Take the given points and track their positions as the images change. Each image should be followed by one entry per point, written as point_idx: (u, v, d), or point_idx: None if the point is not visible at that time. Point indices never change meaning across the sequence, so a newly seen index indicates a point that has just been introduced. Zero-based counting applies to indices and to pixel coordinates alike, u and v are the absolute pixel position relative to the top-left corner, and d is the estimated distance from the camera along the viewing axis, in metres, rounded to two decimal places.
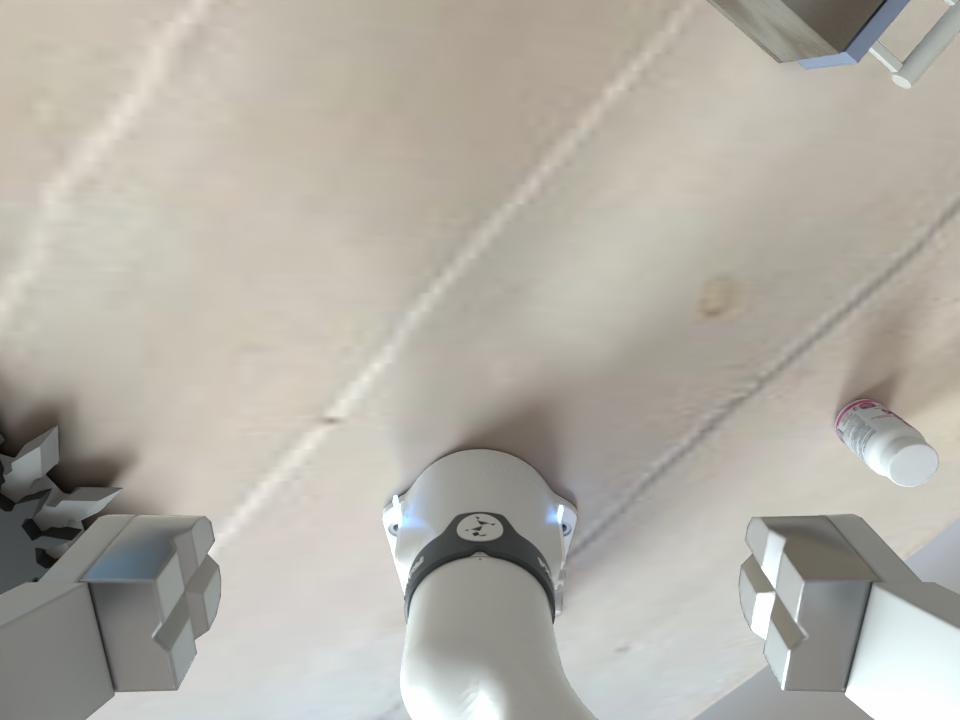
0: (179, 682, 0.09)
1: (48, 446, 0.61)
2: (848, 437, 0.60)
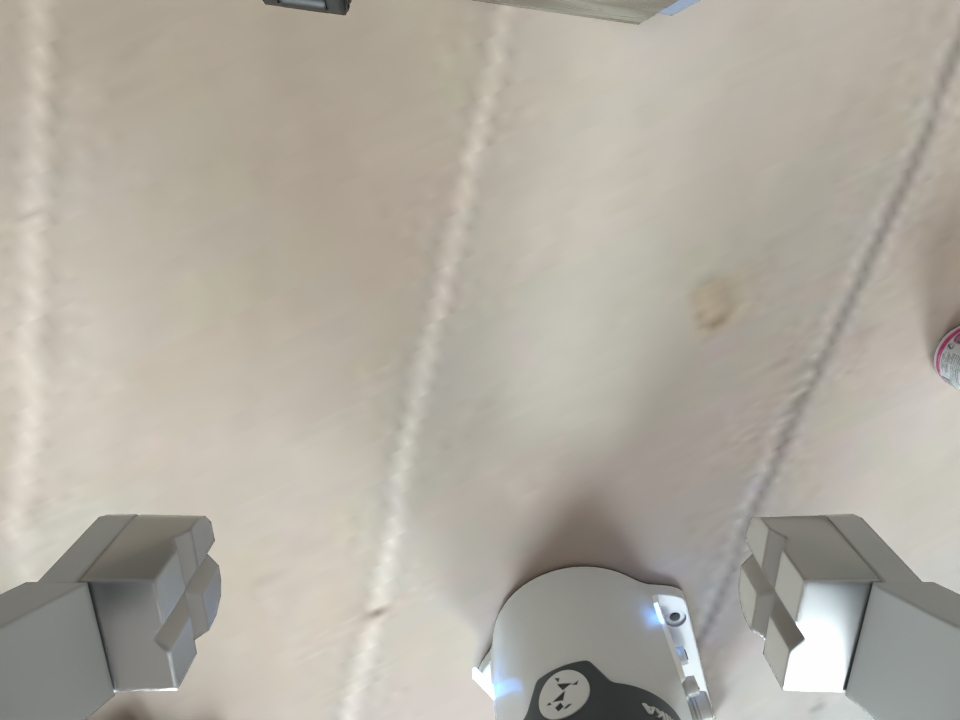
0: (179, 682, 0.09)
1: None
2: (958, 385, 0.46)
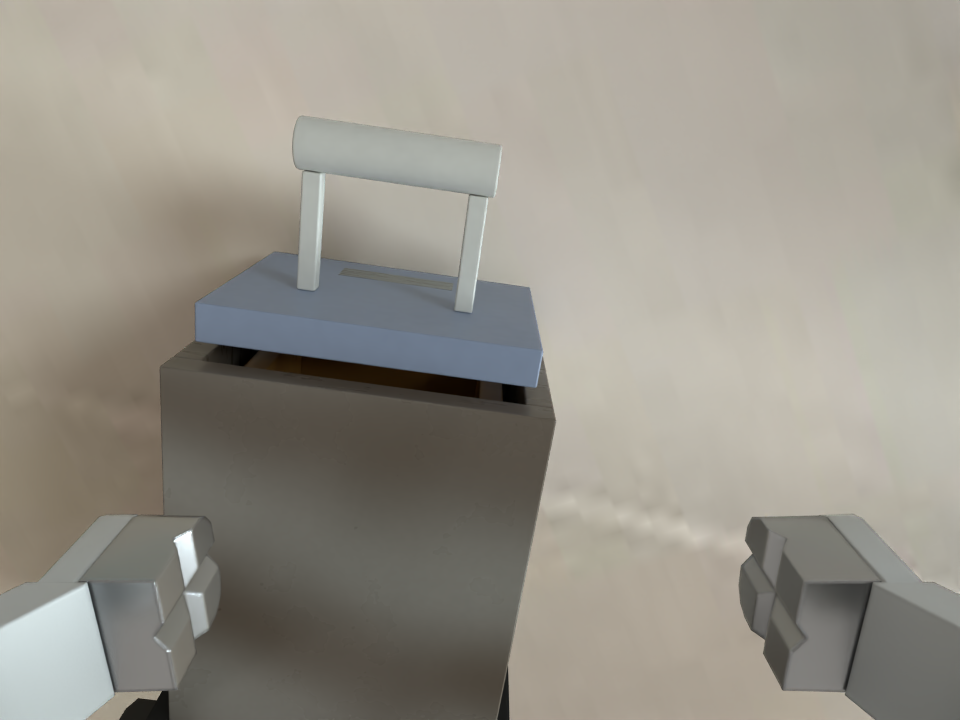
0: (179, 682, 0.09)
1: None
2: None
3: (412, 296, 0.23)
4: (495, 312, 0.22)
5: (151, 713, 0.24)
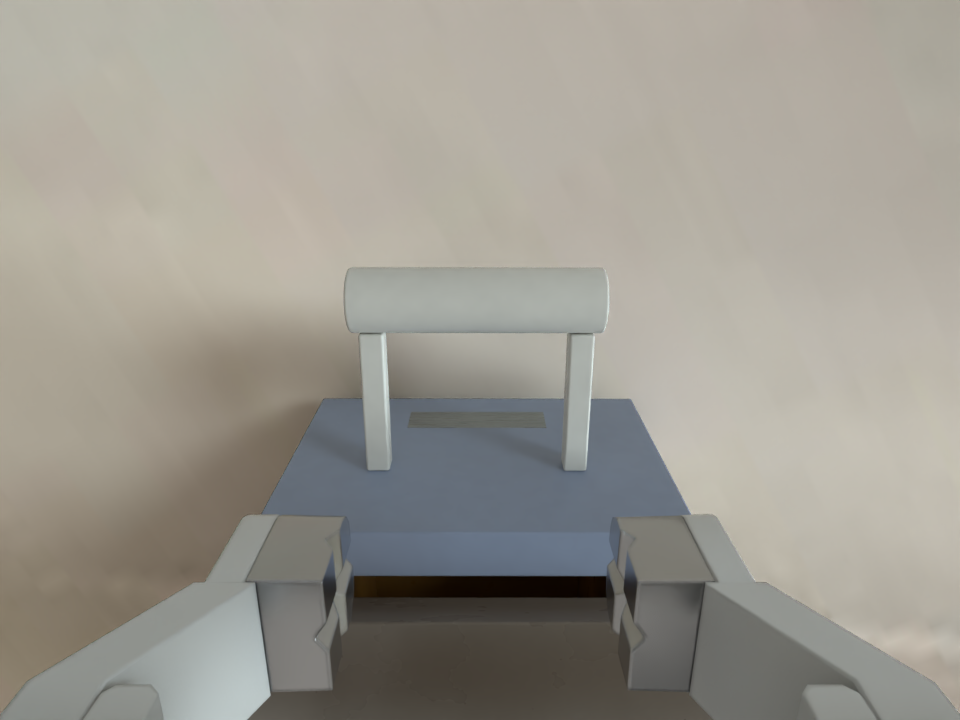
0: (333, 682, 0.09)
1: None
2: None
3: (505, 452, 0.18)
4: (612, 462, 0.18)
5: None
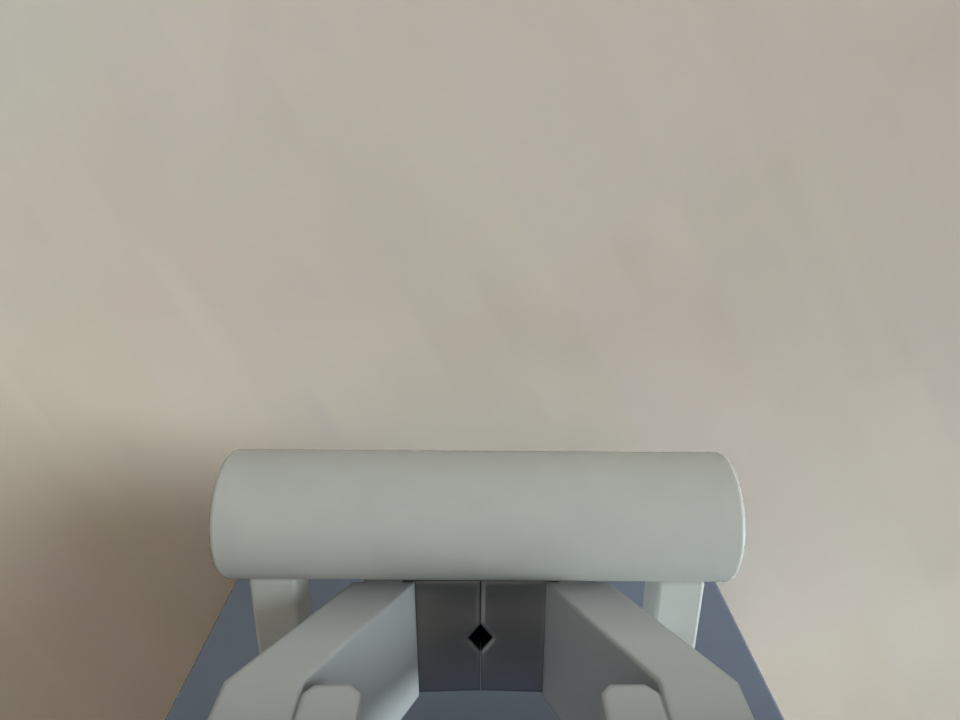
0: (479, 682, 0.09)
1: None
2: None
3: None
4: None
5: None
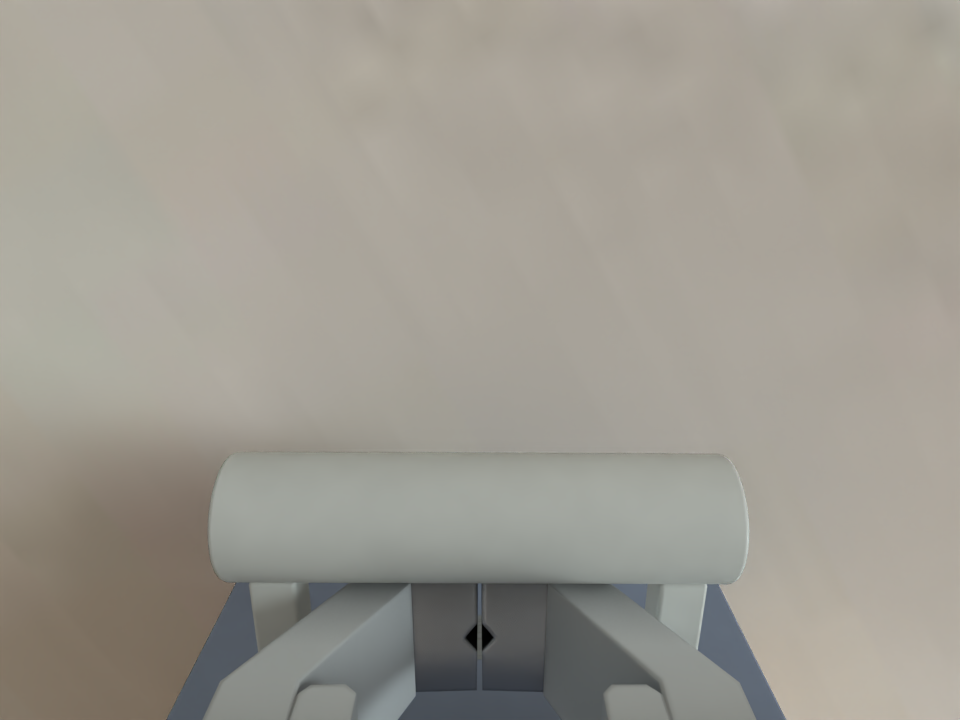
0: (476, 682, 0.09)
1: None
2: None
3: None
4: None
5: None
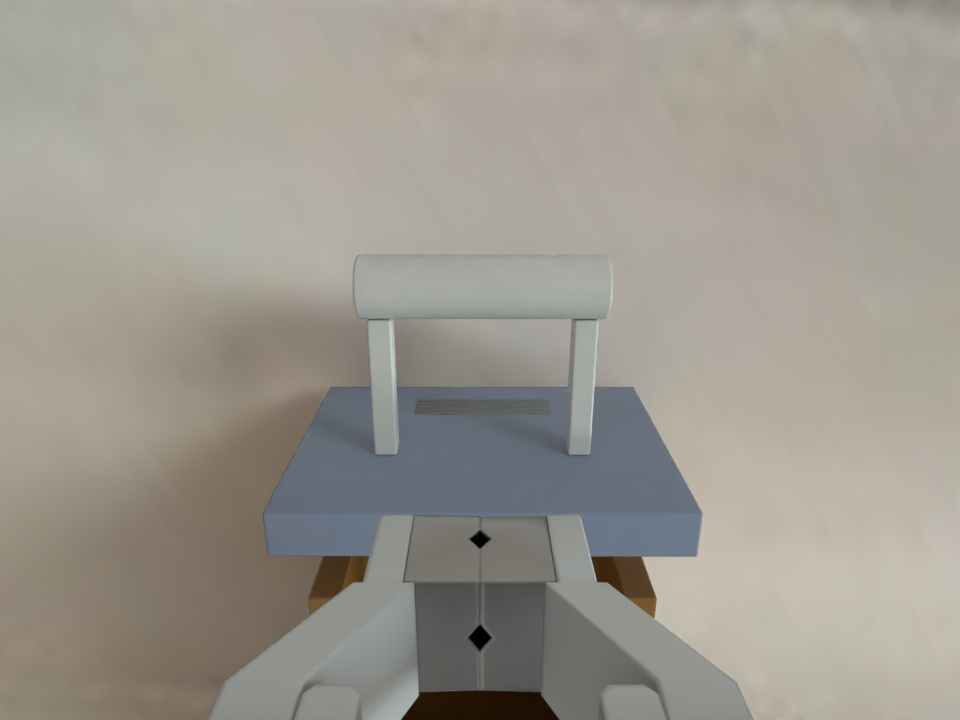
0: (479, 682, 0.09)
1: None
2: None
3: (510, 438, 0.19)
4: (615, 446, 0.18)
5: None
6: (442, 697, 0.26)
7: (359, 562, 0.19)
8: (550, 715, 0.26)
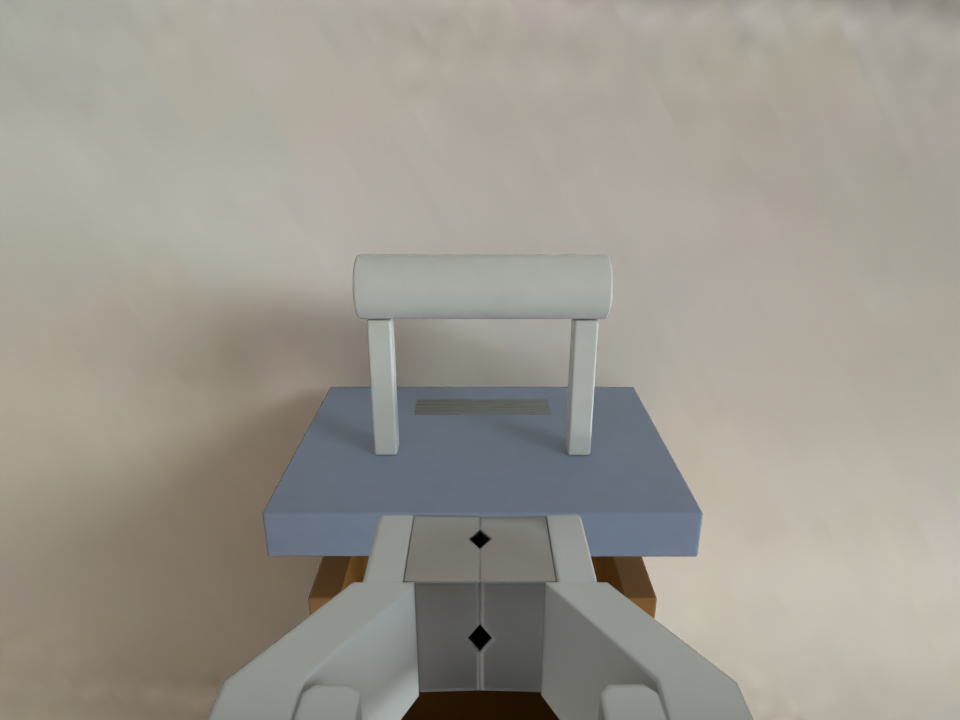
0: (479, 682, 0.09)
1: None
2: None
3: (510, 438, 0.19)
4: (615, 446, 0.18)
5: None
6: (442, 697, 0.26)
7: (359, 562, 0.19)
8: (550, 716, 0.26)
